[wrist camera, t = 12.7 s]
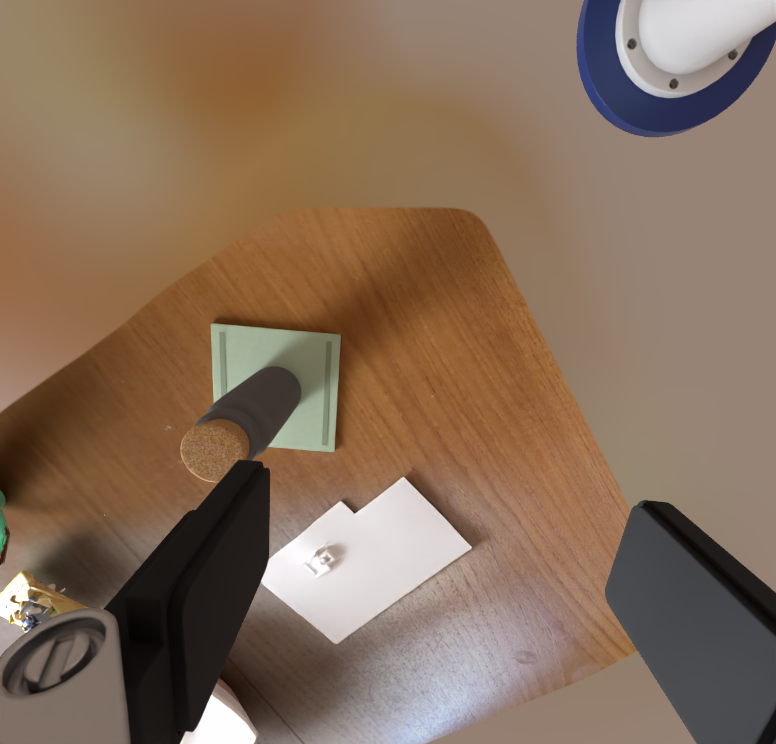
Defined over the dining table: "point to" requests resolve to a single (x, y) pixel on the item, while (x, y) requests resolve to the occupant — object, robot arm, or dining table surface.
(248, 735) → the bowl
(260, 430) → the bottle
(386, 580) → the paper
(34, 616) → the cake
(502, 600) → the dining table surface
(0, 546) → the mug
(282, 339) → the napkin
